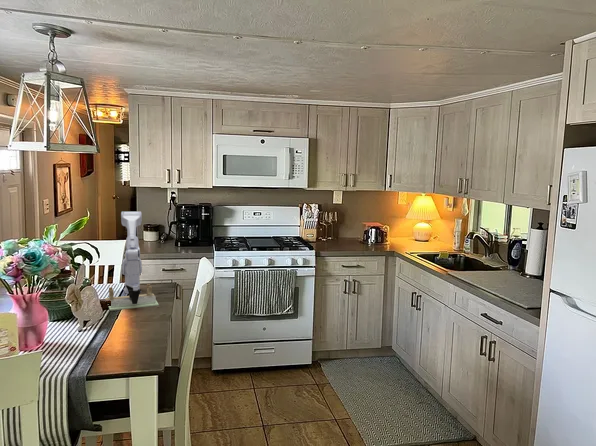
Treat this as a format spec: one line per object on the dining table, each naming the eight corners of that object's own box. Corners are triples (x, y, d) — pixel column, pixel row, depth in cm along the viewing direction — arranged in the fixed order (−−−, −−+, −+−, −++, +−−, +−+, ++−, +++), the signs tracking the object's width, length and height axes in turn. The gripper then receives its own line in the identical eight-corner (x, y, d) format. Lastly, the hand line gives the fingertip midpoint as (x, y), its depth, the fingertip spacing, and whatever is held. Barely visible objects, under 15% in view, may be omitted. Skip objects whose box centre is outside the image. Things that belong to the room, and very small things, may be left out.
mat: (108, 305, 228) (108, 304, 228) (155, 300, 237) (155, 299, 237) (109, 310, 221) (109, 309, 220) (158, 305, 230) (158, 304, 230)
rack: (105, 300, 236) (104, 287, 235) (153, 295, 246) (153, 283, 245) (106, 304, 230) (106, 291, 229) (155, 299, 240) (155, 286, 239)
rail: (111, 307, 223) (111, 301, 223) (111, 305, 226) (110, 299, 225) (155, 302, 232) (155, 297, 232) (154, 301, 235) (154, 295, 234)
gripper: (122, 271, 232) (122, 298, 233) (126, 278, 219) (126, 306, 221) (137, 269, 235) (137, 296, 237) (142, 276, 222) (142, 305, 224)
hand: (133, 301), depth 229 cm, fingers open, 7 cm apart
